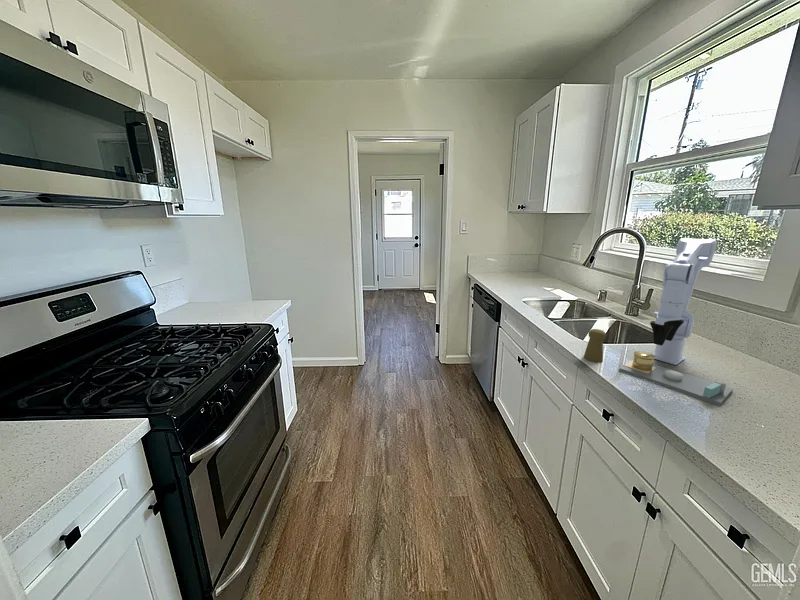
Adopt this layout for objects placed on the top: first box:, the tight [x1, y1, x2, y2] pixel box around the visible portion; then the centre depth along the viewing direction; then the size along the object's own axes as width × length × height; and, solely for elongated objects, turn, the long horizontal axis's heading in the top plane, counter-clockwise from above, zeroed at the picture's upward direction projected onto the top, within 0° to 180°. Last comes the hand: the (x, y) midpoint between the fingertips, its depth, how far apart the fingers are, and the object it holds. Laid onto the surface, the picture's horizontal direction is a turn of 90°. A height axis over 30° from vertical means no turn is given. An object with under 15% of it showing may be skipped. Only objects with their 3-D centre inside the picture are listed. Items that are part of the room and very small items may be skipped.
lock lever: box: [703, 380, 727, 398], centre depth 93 cm, size 8×2×3 cm, turn 116°
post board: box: [618, 359, 734, 406], centre depth 103 cm, size 13×25×2 cm, turn 35°
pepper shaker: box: [583, 328, 607, 364], centre depth 117 cm, size 6×6×11 cm
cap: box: [632, 350, 656, 371], centre depth 109 cm, size 6×6×4 cm
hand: (662, 342), depth 107 cm, fingers open, 7 cm apart
